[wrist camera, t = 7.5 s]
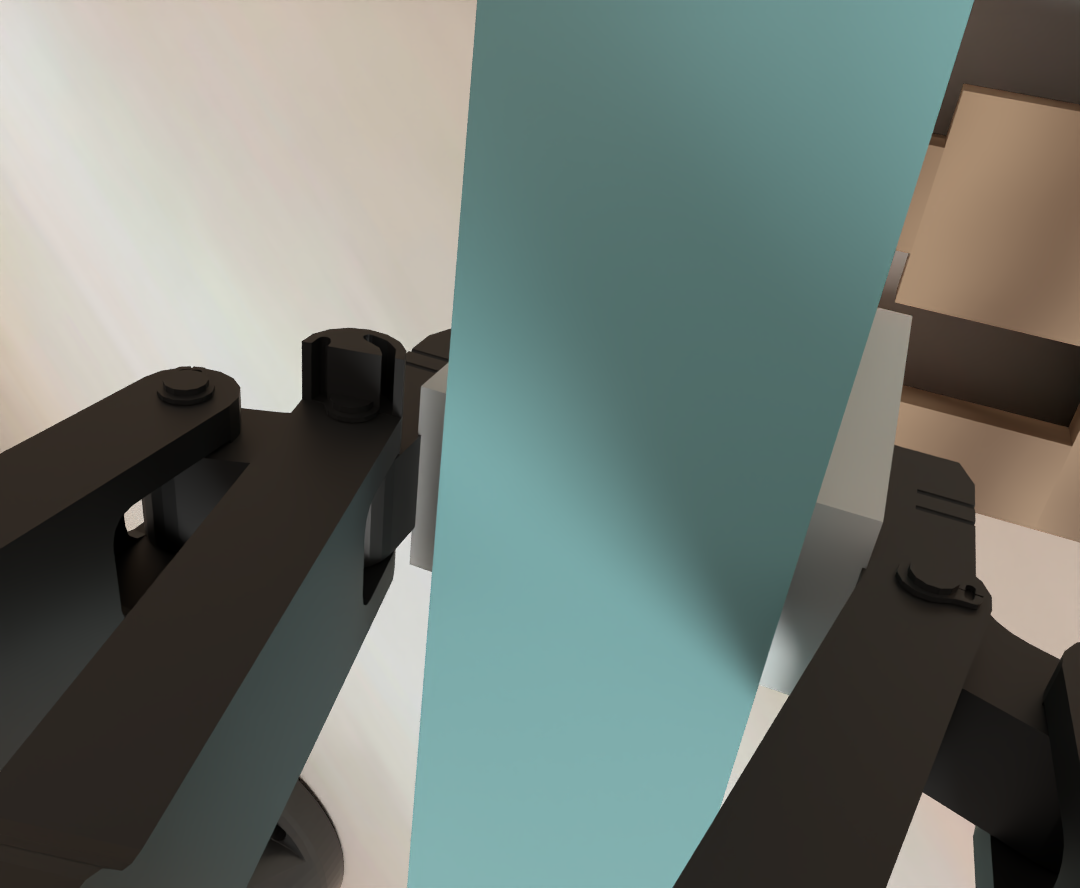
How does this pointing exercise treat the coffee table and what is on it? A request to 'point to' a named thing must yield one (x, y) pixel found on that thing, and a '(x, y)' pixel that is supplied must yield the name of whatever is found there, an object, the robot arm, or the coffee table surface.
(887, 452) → the robot arm
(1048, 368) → the coffee table surface
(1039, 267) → the keyhole board
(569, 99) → the block with headed pegs
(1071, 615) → the coffee table surface
